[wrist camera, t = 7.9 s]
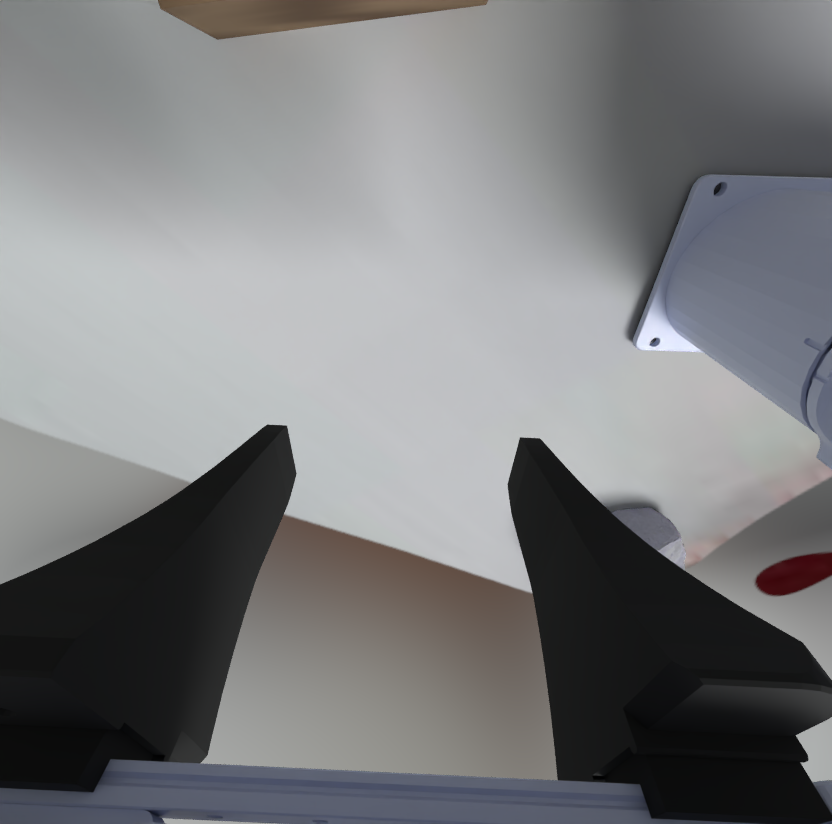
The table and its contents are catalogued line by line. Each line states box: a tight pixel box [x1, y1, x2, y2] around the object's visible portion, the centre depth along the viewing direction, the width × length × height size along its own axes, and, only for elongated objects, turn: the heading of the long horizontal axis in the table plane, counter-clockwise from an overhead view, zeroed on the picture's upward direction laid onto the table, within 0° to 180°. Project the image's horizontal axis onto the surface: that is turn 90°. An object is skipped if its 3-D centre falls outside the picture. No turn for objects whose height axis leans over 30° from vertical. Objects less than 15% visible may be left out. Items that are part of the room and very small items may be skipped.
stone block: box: [611, 507, 686, 570], centre depth 31 cm, size 12×5×10 cm
